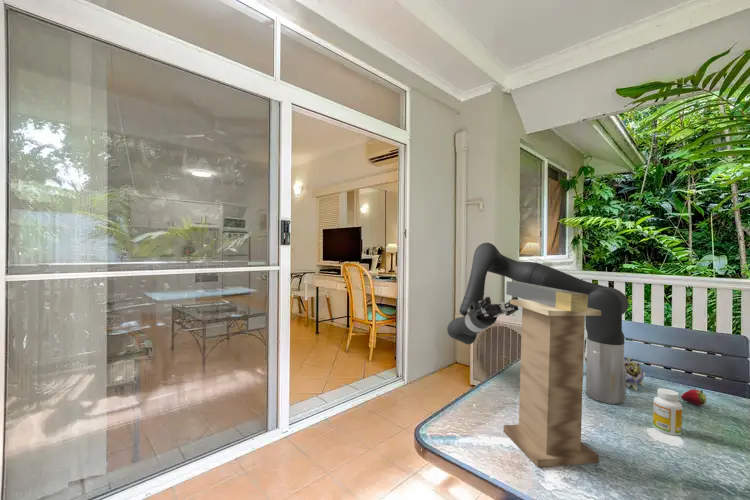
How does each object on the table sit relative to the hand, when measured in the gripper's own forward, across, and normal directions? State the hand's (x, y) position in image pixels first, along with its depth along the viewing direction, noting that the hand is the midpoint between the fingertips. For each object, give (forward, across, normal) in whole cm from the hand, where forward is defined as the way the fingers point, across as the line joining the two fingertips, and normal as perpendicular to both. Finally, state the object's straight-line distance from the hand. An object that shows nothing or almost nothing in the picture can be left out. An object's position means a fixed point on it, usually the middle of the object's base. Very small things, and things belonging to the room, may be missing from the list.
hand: (503, 299), depth 94 cm
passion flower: (-23, +49, +22) cm, 58 cm away
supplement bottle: (0, +35, +35) cm, 49 cm away
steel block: (+15, 0, +6) cm, 17 cm away
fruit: (-10, +58, +29) cm, 65 cm away
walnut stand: (+3, 0, +36) cm, 36 cm away
